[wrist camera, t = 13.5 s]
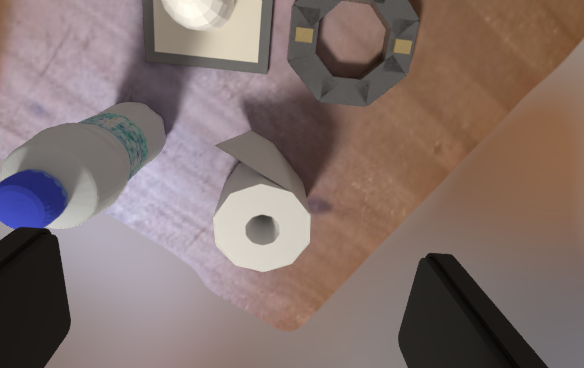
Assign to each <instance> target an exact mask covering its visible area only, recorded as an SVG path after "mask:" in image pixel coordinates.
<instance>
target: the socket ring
mask: <svg viewBox="0 0 584 368" xmlns="http://www.w3.org/2000/svg"><path fill="white" fill-rule="evenodd" d="M341 1H349V2H357V3H365V4H370V5H371V7H372V8H373V10H374V11H375V13H376V14H377V16H378V18H379V19H380V21H381V22H382V24H383V25H384V27H385V29H386V33H385V38H384V43H383V48H382V54H381V59H380V61H378V62H377V63H376V64H375V65H373V66H372V67H371V68H370V69H368V70H367V71H366V72H365V73H364V74H362V75H361V76H360V77H359V78H349V77H340V76H332V75H331V74H330V72H329V71H328V70H327V68H326V67H325V65H324V64H323V63H322V61H321V60H320V59H319V57H318V56H317V55H316V53H315V51H316V43H317V34H318V26H319V20H320V19H321V18H322V17H323V16H325V15H326V14H327V13H328V12H329V11H330V10H332V9H333V8H334V7H335V6H336V5H337V4H338V3H340V2H341ZM293 5H294V6H292V13H291V23H290V34H289V44H288V54H287V60H289V61H288V63H289V64H290V65H291V67H292V68H293V69H294V71H295V72H296V73H297V74H298V76H299V77H300V78H301V80H302V81H303V82H304V84H305V85H306V86H307V88H308V89H309V90H310V91H311V93H312V94H313V95H314V97H315V98H316V99H317V101H319V102H323V103H333V104H343V105H353V106H363V107H366V105H367V106H369V105H370V104H371V103H372V102H374V101H375V100H376V99H377V98H379V97H380V96H381V95H383V94H384V93H385V92H386V91H388V90H389V89H390V88H392V87H393V86H394V85H395V84H397V83H398V82H399V81H400V80H402V79H403V78H404V77H406V76H407V75H406V74H405V73H408V71H409V67H410V62H411V58H412V53H413V49H414V44H415V40H416V35H417V30H418V26H419V21H417V20H418V19H419V18H418V16H417V14H416V13H415V11H414V9H413V8H412V6H411V4H410V3H409V1H408V0H297V1H296V2H295V3H294V4H293Z"/></svg>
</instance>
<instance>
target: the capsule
mask: <svg viewBox="0 0 584 368" xmlns="http://www.w3.org/2000/svg"><path fill="white" fill-rule="evenodd" d="M161 1H162V4H163V6H164V9H165V10H166V12H167V13H168V14H169V15H170V16H171V17H172V19H173V20H174V21H175V22H176V23H178V24H180V25H182V26H184V27H185V28H187V29H193V30H199V31H208V32H212V31H215V30H218V29H221V28H222V27H223V26H224V25H225V24H226V23H227V22H228V21H229V20H230V17H231V15H232V13H233V11H234V0H161Z"/></svg>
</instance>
